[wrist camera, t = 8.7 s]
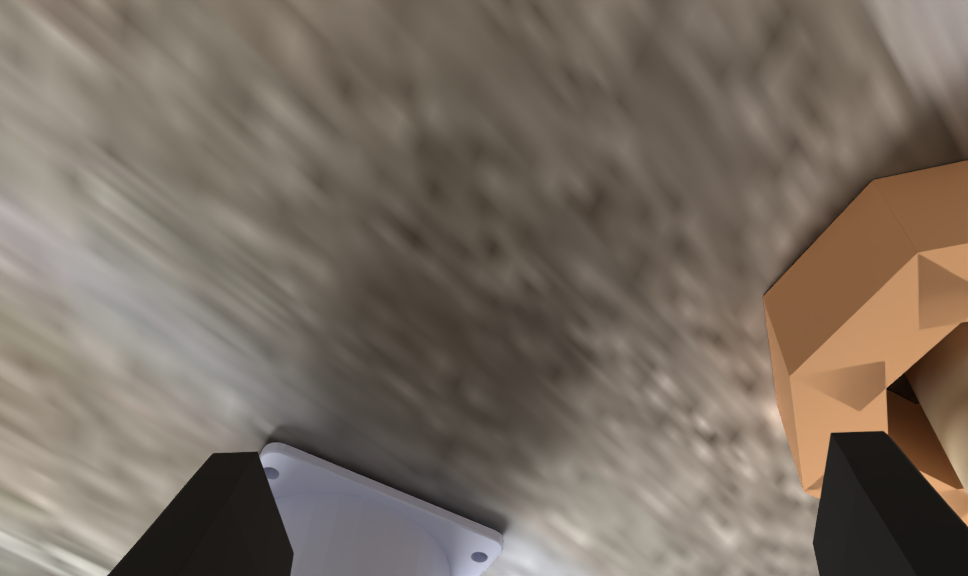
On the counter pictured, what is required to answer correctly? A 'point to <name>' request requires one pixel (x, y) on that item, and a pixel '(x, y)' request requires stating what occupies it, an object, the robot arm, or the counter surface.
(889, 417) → the orange faceted ring
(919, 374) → the dowel
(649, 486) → the counter surface
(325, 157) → the counter surface
